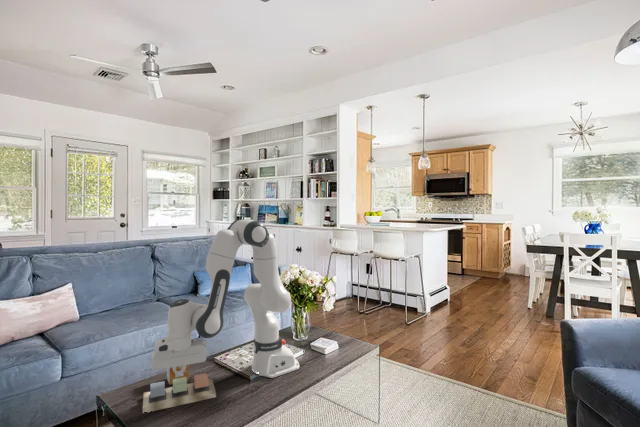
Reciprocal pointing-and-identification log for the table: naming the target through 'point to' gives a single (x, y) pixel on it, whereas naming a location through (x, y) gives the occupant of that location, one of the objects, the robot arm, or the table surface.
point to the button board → (178, 397)
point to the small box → (172, 374)
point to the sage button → (179, 385)
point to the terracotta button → (201, 380)
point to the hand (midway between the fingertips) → (179, 376)
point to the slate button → (157, 389)
